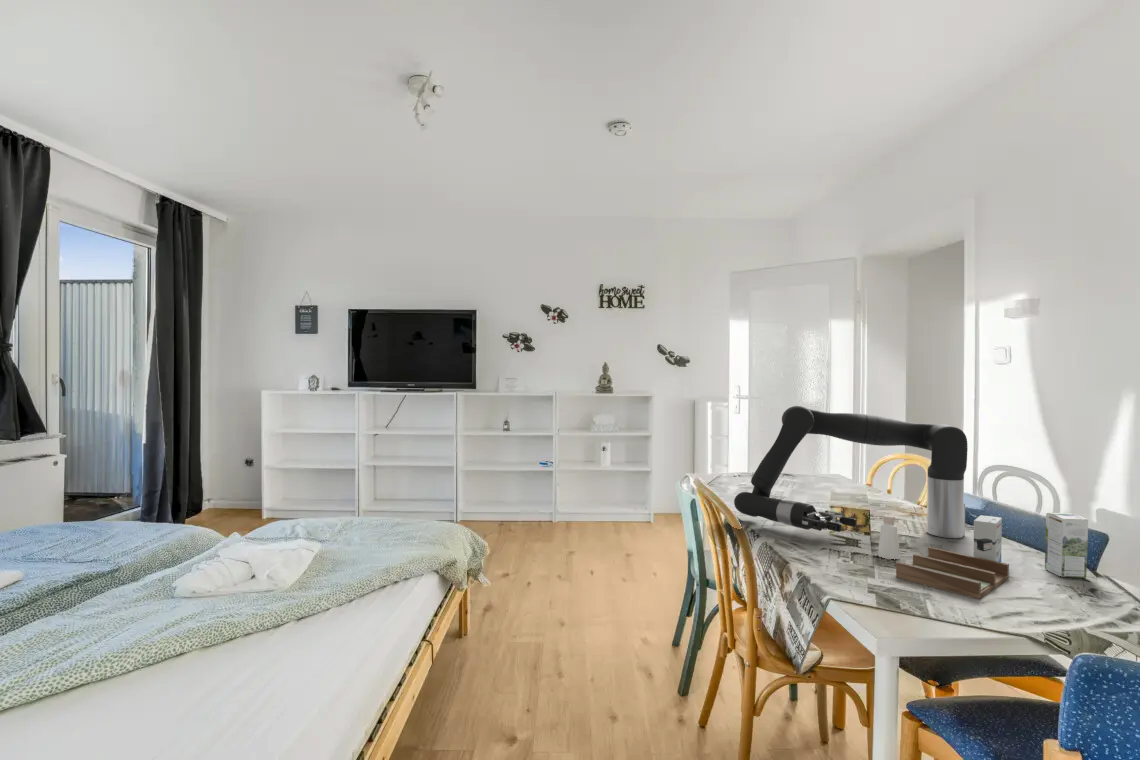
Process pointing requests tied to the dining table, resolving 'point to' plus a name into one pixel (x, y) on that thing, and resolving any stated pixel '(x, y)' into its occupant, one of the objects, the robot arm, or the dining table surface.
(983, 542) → the ink box
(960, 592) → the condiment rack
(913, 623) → the dining table surface
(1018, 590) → the dining table surface
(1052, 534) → the syrup box
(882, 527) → the salt shaker
